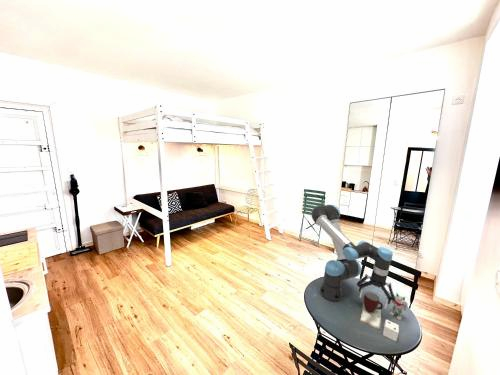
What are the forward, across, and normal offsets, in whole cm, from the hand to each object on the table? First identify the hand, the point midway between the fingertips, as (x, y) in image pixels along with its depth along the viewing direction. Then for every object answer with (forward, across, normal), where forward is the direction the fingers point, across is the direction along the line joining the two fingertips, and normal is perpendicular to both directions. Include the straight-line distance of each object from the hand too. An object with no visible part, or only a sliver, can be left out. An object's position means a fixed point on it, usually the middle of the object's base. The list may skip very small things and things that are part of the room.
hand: (372, 301), depth 126 cm
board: (+7, +1, -4) cm, 8 cm away
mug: (+6, 0, 0) cm, 6 cm away
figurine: (+7, +14, +6) cm, 17 cm away
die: (+7, +10, -12) cm, 17 cm away
